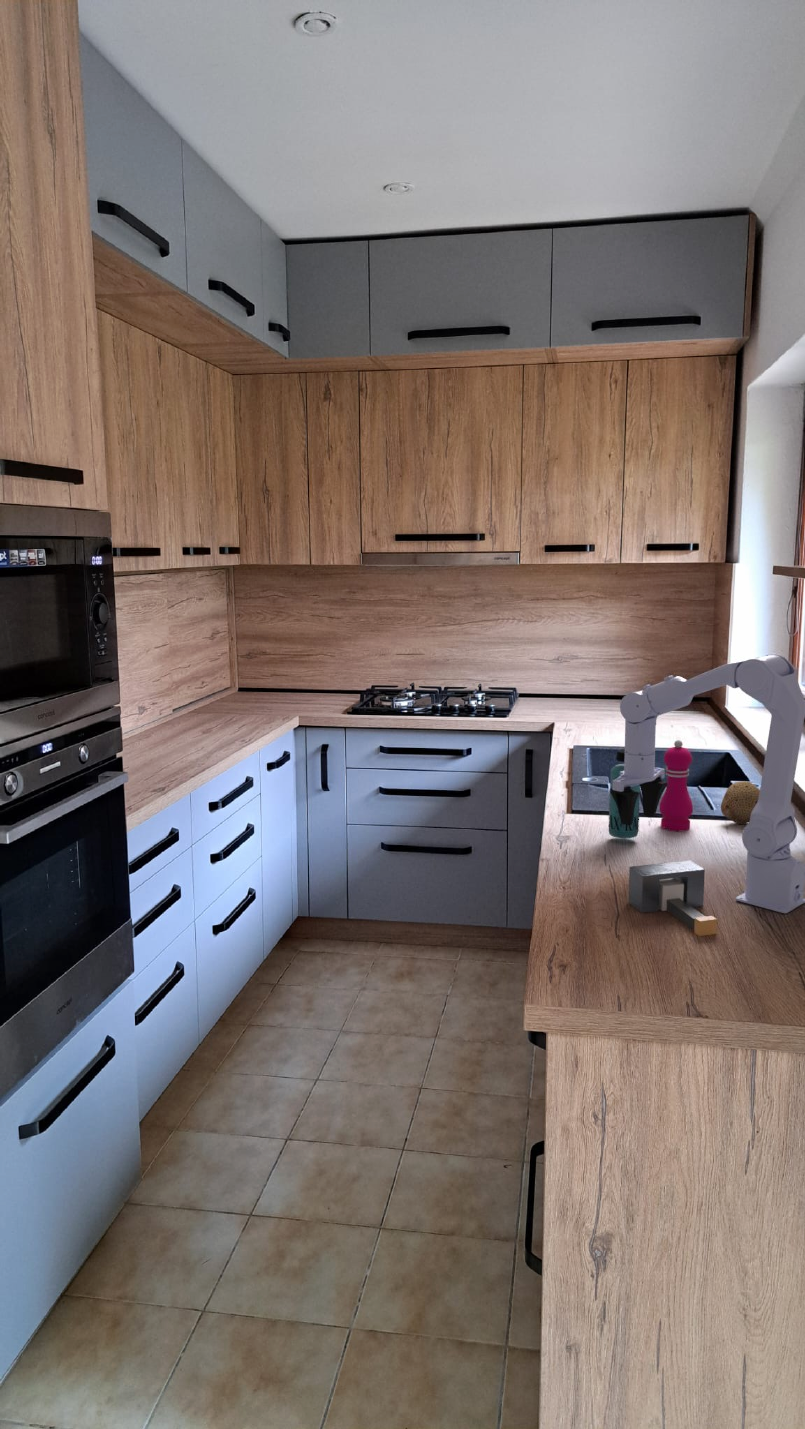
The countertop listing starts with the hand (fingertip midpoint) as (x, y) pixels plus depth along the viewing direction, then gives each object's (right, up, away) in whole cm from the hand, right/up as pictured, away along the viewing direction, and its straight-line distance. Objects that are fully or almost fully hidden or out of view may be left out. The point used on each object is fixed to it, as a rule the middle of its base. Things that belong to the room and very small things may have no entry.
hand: (638, 820), depth 192 cm
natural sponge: (+31, -4, +29) cm, 43 cm away
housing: (+1, -13, -17) cm, 21 cm away
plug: (+2, -14, -23) cm, 27 cm away
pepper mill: (+15, -5, +28) cm, 32 cm away
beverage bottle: (+1, -7, +19) cm, 20 cm away
